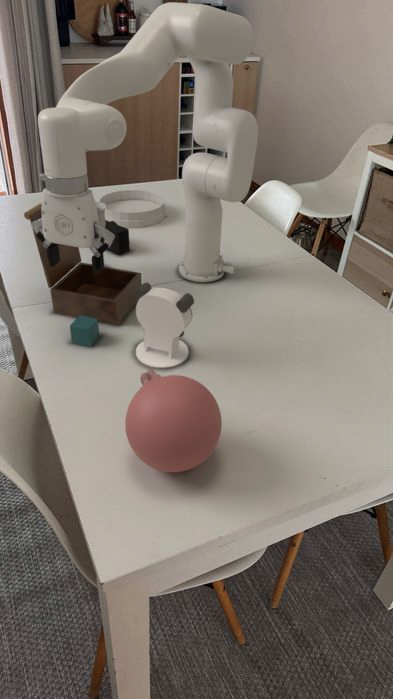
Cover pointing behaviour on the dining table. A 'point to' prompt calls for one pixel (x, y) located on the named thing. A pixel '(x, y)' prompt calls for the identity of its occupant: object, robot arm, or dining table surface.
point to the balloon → (172, 422)
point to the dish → (134, 208)
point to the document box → (96, 293)
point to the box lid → (67, 253)
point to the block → (84, 330)
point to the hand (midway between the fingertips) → (76, 268)
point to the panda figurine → (162, 325)
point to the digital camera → (118, 238)
